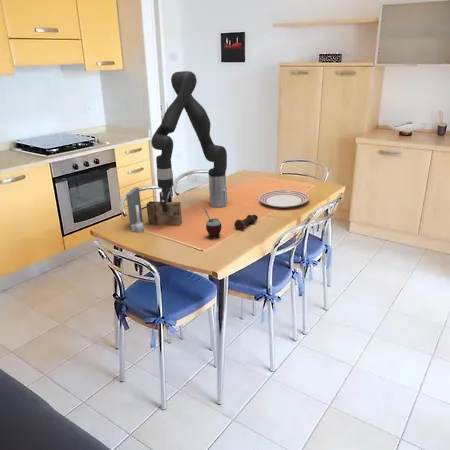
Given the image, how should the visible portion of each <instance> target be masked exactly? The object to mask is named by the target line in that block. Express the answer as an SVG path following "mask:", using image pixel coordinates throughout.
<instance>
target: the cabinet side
mask: <svg viewBox="0 0 450 450" xmlns="http://www.w3.org/2000/svg"><path fill="white" fill-rule="evenodd" d="M125 195H126V202H127V204H126V205H127V211H128V219H129V227H130V231H131V232H135V233H142V232H144V222H143V221H144V220H143V212H142V211H143V210H142V202H141V196H140V195H141V194H140V187H133V188H132V189H131V190H130V191H129V192H128V193H126V194H125Z"/></svg>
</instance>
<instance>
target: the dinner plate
mask: <svg viewBox="0 0 450 450" xmlns="http://www.w3.org/2000/svg"><path fill="white" fill-rule="evenodd" d="M258 200H259V201H260V203H262V204H265V205H267V206H270V207H274V208H281V209H283V208H285V209H287V208H294V207H297V206H301V205H303V204H305V203H307V202H308V201H309V200H310V196H309V195H308V194H307V193H305V192H302V191H300V190H293V189H277V190H271V191H270V190H269V191H266V192H264V193H262V194H261V195H259V197H258Z"/></svg>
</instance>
